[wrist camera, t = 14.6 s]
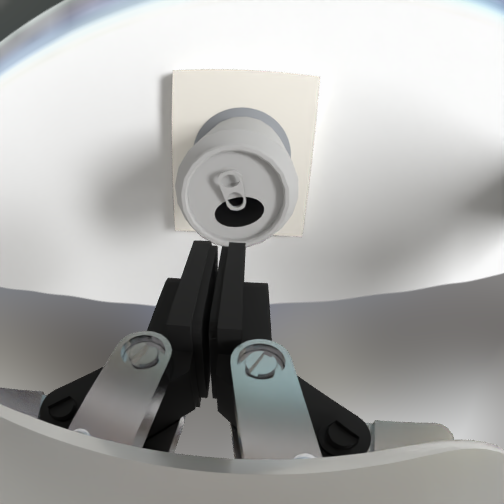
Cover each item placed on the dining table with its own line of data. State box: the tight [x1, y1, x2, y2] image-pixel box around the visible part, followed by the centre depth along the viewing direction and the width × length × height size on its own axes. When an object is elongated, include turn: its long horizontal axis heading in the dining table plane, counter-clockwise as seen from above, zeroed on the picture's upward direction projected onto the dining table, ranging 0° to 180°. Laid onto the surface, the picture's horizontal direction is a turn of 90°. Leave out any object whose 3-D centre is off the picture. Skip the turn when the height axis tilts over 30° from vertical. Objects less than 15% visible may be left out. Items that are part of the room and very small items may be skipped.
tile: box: [172, 69, 320, 237], centre depth 28 cm, size 13×16×2 cm
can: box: [175, 116, 298, 247], centre depth 22 cm, size 8×8×12 cm
